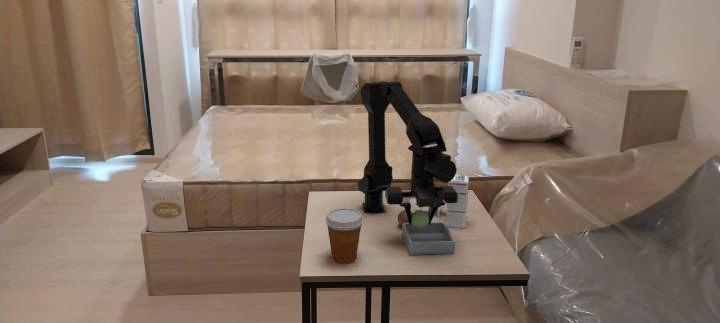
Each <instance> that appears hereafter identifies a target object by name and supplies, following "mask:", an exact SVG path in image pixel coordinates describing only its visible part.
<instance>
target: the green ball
mask: <svg viewBox="0 0 720 323" xmlns="http://www.w3.org/2000/svg"><path fill="white" fill-rule="evenodd" d="M412 212H413V214H412V215H411V219H412V221H411V223H412V225H413V226H414V227H416V228H424V227H426V226H427V225H428V223H429V216H428V213H427V212H426V211H425V210H423V209H422V210H421V209H418V210H415V211H412Z"/></svg>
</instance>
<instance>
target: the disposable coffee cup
mask: <svg viewBox="0 0 720 323" xmlns="http://www.w3.org/2000/svg"><path fill="white" fill-rule="evenodd" d="M324 220H325V223H326V225H327V231H328V238H329V245H330V254H331V258H332V260H333V261H334V262H335V263H337V264H350V263H353V262H354V261H356V259H357V255H358V249H359V243H360V236H361V235H360V234H361V229H362V228H361V227H362V225H363V223H364V217H363V215H362V213H361V212H360V211H358V210H357V209H354V208H350V207H349V208H348V207H347V208H346V207H342V208H341V207H339V208H335V209H332V210H329V212H328V213H327V214H326V217H325V219H324Z"/></svg>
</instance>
